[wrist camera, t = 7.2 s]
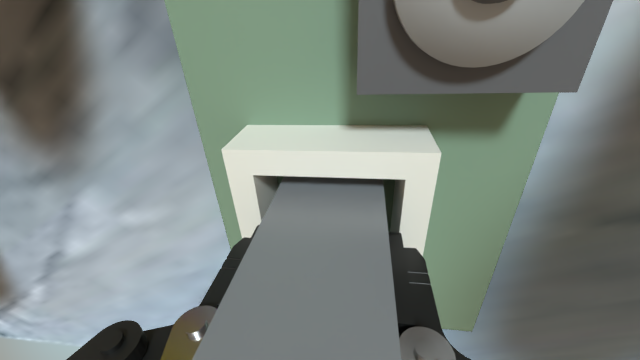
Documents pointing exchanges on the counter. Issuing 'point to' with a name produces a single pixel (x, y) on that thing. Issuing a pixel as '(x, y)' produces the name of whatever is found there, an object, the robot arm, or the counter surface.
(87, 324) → the counter surface
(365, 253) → the plug
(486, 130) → the header board
